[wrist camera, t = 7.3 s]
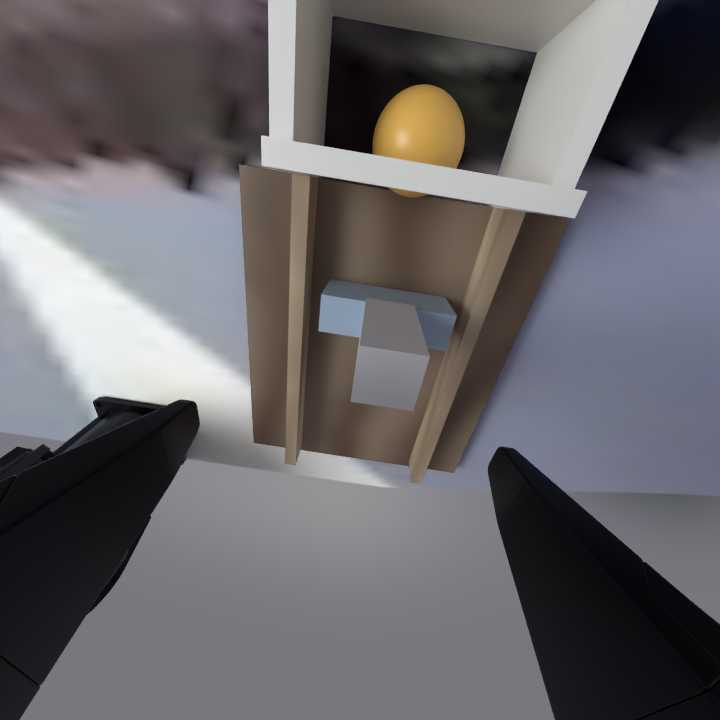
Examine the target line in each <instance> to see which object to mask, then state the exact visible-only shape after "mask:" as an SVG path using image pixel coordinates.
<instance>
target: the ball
mask: <svg viewBox="0 0 720 720" xmlns="http://www.w3.org/2000/svg"><path fill="white" fill-rule="evenodd" d="M464 143H465V127H464V121H463V117H462V114H461V111H460V109H459V107H458V105H457V103H456V102H455V100H454V99H453V98H452V97H451V96H450V95H449V94H448V93H447V92H446V91H444V90H443V89H441V88H439V87H436V86H433V85H427V84H422V85H415V86H411V87H409V88H407V89H405V90H403V91H401V92H400V93H398V94H397V95H396V96H395V97H394V98H392V99H391V100H390V102H389V103H388V104H387V105H386V107H385V108H384V110H383V111H382V113H381V115H380V117H379V119H378V121H377V124H376V127H375V131H374V136H373V144H372V151H373V155H378V156H384V157H390V158H396V159H402V160H407V161H413V162H419V163H425V164H431V165H437V166H443V167H448V168H454V169H456V168H457V166H458V164H459V162H460V159H461V156H462V153H463V149H464ZM389 189H390V190H392V191H393V192H395V193H397V194H399V195H401V196H405V197H411V198H417V197H423V196H426V195H429V194H424V193H418V192H412V191H406V190H400V189H394V188H389Z"/></svg>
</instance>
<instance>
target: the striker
mask: <svg viewBox="0 0 720 720" xmlns="http://www.w3.org/2000/svg"><path fill="white" fill-rule="evenodd" d="M456 318H457V315H456V314H455V312H454V310H453V309H452V307H451V306H450V304H449V303H448V301H447V299H446V298H445V297H440V296H433V295H427V294H421V293H415V292H409V291H402V290H396V289H390V288H384V287H378V286H372V285H365V284H359V283H353V282H347V281H341V280H334V279H330V280H329V282H328V284H327V285H326V287H325V289H324V291H323V292H322V294H321V304H320V317H319V329H318V331H321V332H327V333H333V334H340V335H346V336H352V337H359V338H360V339H359V345H358V352H357V359H356V366H355V373H354V380H353V387H352V394H351V401H350V402H356V403H362V404H369V405H375V406H382V407H388V408H395V409H401V410H408V411H414V407H415V404H416V401H417V398H418V394H419V391H420V388H421V385H422V381H423V378H424V375H425V371H426V368H427V365H428V362H429V358H430V355H429V352H428V349H435V350H441V351H446V348H447V345H448V342H449V339H450V336H451V333H452V330H453V327H454V324H455V321H456Z"/></svg>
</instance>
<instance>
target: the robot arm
mask: <svg viewBox="0 0 720 720" xmlns="http://www.w3.org/2000/svg"><path fill="white" fill-rule="evenodd" d="M93 404H94V407H95V409H96V412H97V414H98V417H97V418H96V419H95V420H93V421H92V422H91V423H90V424H88V425H87V426H86V427H85V428H83V429H82V430H81V431H80V432H78V433H77V434H76V435H74V436H73V437H72V438H71V439H69V440H68V441H67V442H66V443H64V444H63V445H62V446H61V447H59V448H58V449H57V450H55V451H54V452H51V451H50V448H49V447H47V446H46V445H44V444H42V445H41V446H39V447H37V448H36V449H34V450H31V449H25V448H21V447H16V448H15V449H13V450H12V451H10V452H9V453H7V454H6V455H5V456H3V457H2V458H0V720H19V719H20V718H21V716H22V715H23V714H24V712H25V710H26V709H27V707H28V706H29V704H30V702H31V701H32V699H33V698H34V696H35V695H36V693H37V692H38V690H39V688H40V686H39V685H41V684H42V683H43V682H44V680H45V679H46V677H47V676H48V674H49V672H50V671H51V669H52V668H53V666H54V665H55V663H56V662H57V660H58V658H59V657H60V655H61V654H62V652H63V651H64V649H65V648H66V646H67V644H68V643H69V641H70V640H71V638H72V637H73V635H74V633H75V632H76V630H77V629H78V627H79V625H80V624H81V622H82V621H83V619H84V618H85V616H86V615H87V614H88V613H89V612H91V611H92V610H93V609H94V608H95V607H96V606H97V605H98V604H99V603H100V602H101V601H102V599H103V598H104V597H105V596H106V595H107V594H108V593H109V591H110V590H111V589H112V587H113V586H114V585H115V583H116V582H117V580H118V579H119V577H120V576H121V574H122V573H123V571H124V569H125V567H126V565H127V563H128V561H129V559H130V557H131V555H132V553H133V552H134V550H135V548H136V546H137V544H138V542H139V540H140V538H141V536H142V534H143V532H144V530H145V528H146V527H147V525H148V523H149V521H150V519H151V516H150V515H151V513H152V512H153V510H154V509H155V507H156V506H157V504H158V503H159V501H160V499H161V498H162V496H163V495H164V493H165V492H166V490H167V489H168V487H169V485H170V484H171V482H172V480H173V479H174V477H175V475H176V473H177V471H178V470H179V468H180V466H181V465H182V464H183V463H184V462H185V460H186V454H187V452H188V450H189V448H190V446H191V444H192V442H193V440H194V438H195V436H196V434H197V432H198V429H199V425H200V422H199V416H198V410H197V405H196V403H195V402H194V401H189V400H178V401H175V402H173V403H171V404H169V405H166V406H157V405H151V404H144V403H138V402H131V401H124V400H118V399H111V398H104V397H99V398H97V399H96V400H94V401H93ZM488 475H489V481H490V486H491V492H492V497H493V502H494V508H495V513H496V518H497V523H498V527H499V530H500V534H501V537H502V540H503V544H504V548H505V551H506V554H507V558H508V561H509V565H510V568H511V571H512V575H513V578H514V582H515V585H516V588H517V592H518V595H519V599H520V602H521V606H522V609H523V612H524V616H525V619H526V623H527V626H528V629H529V633H530V636H531V639H532V643H533V647H534V650H535V653H536V657H537V660H538V663H539V667H540V670H541V674H542V677H543V681H544V684H545V687H546V691H547V694H548V697H549V701H550V704H551V708H552V711H553V715H554V718H555V720H720V624H719V623H717V622H716V621H715V620H714V619H713V618H711V617H710V616H709V615H707V614H706V613H705V612H704V611H703V610H701V609H700V608H699V607H698V606H697V605H695V604H694V603H693V602H692V601H690V600H689V599H688V598H687V597H686V596H685V595H683V594H682V593H681V592H680V591H679V590H677V589H676V588H675V587H674V586H673V585H672V584H670V583H669V582H668V581H667V580H666V579H664V578H663V577H662V576H661V575H660V574H659V573H657V572H656V571H655V570H654V569H653V568H652V567H651V566H649V565H648V564H647V563H646V562H643V560H642V559H641V558H640V557H639V556H638V555H637V554H635V553H634V552H633V551H632V550H631V549H630V548H628V547H627V546H626V545H625V544H624V543H623V542H622V541H620V540H619V539H618V538H617V537H616V536H615V535H613V534H612V533H611V532H610V531H609V530H608V529H607V528H605V527H604V526H603V525H602V524H601V523H600V522H598V521H597V520H596V519H595V518H594V517H593V516H591V515H590V514H589V513H588V512H587V511H585V510H584V509H583V508H582V507H581V506H580V505H579V504H578V503H577V502H575V501H574V500H573V499H572V498H571V497H570V496H568V495H567V494H566V493H565V492H564V491H563V490H561V489H560V488H559V487H558V486H557V485H556V484H555V483H553V482H552V481H551V480H550V479H549V478H548V477H546V476H545V475H544V474H543V473H542V472H541V471H540V470H538V469H537V468H536V467H535V466H534V465H533V464H531V463H530V462H529V461H528V460H527V459H526V458H524V457H523V456H522V455H521V454H520V453H519V452H518V451H516V450H515V449H513V448H508V447H499V448H498V449H497V450H496V452H495V454H494V456H493V458H492V460H491V461H490V463H489V466H488Z"/></svg>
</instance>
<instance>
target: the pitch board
mask: <svg viewBox="0 0 720 720" xmlns="http://www.w3.org/2000/svg"><path fill="white" fill-rule="evenodd" d="M239 173H240V192H241V211H242V230H243V249H244V267H245V286H246V305H247V324H248V343H249V362H250V380H251V399H252V418H253V437H254V443H259V444H265V445H272V446H279V447H285V448H286V453H285V464H291V465H296V462H297V459H298V456H299V453H300V450H305V451H312V452H319V453H325V454H332V455H339V456H345V457H352V458H359V459H365V460H372V461H379V462H385V463H392V464H399V465H406V466H409V469H410V478H411V482H412V483H419V484H421V483H422V480H423V478H424V475H425V472H426V470H427V469H432V470H439V471H446V472H452V473H454V472H455V469H456V467H457V465H458V463H459V461H460V459H461V456H462V454H463V452H464V450H465V448H466V446H467V443H468V441H469V439H470V437H471V435H472V433H473V430H474V428H475V426H476V424H477V422H478V419H479V417H480V415H481V413H482V411H483V409H484V406H485V404H486V402H487V400H488V398H489V396H490V393H491V391H492V389H493V387H494V385H495V383H496V380H497V378H498V376H499V374H500V372H501V369H502V367H503V365H504V363H505V361H506V359H507V356H508V354H509V352H510V350H511V348H512V346H513V343H514V341H515V339H516V337H517V335H518V333H519V330H520V328H521V326H522V324H523V322H524V320H525V317H526V315H527V313H528V311H529V309H530V306H531V304H532V302H533V300H534V298H535V296H536V293H537V291H538V289H539V287H540V285H541V283H542V280H543V278H544V276H545V274H546V272H547V270H548V267H549V265H550V263H551V261H552V259H553V256H554V254H555V252H556V250H557V248H558V246H559V243H560V241H561V239H562V237H563V235H564V233H565V230H566V228H567V226H568V224H569V222H570V220H565V219H559V218H553V217H547V216H542V215H536V214H530V213H526V212H522V211H516V210H510V209H502V208H494V207H488V206H482V205H476V204H470V203H464V202H458V201H453V200H447V199H441V198H435V197H429V196H423V197H417V198H411V197H405V196H401V195H399V194H397V193H395V192H393V191H392V190H387V189H381V188H375V187H369V186H364V185H358V184H352V183H346V182H340V181H334V180H328V179H322V178H317V177H313V176H308V175H302V174H297V173H286V172H280V171H275V170H269V169H263V168H257V167H251V166H245V165H239ZM330 279H334V280H341V281H347V282H353V283H359V284H365V285H372V286H378V287H384V288H390V289H396V290H402V291H409V292H415V293H421V294H427V295H433V296H440V297H445V298H446V299H447V301H448V303H449V304H450V306H451V307H452V309H453V310H454V312H455V314H456V315H457V318H456V321H455V324H454V327H453V330H452V333H451V336H450V339H449V342H448V345H447V348H446V351H441V350H435V349H428V352H429V355H430V358H429V362H428V365H427V368H426V371H425V375H424V378H423V381H422V385H421V388H420V391H419V394H418V398H417V401H416V404H415V407H414V411H408V410H401V409H395V408H388V407H382V406H375V405H369V404H362V403H356V402H350V401H351V394H352V387H353V380H354V373H355V366H356V359H357V352H358V345H359V339H360V338H359V337H352V336H346V335H340V334H333V333H327V332H321V331H318V329H319V317H320V304H321V294H322V292H323V291H324V289H325V287H326V285H327V284H328V282H329V280H330Z"/></svg>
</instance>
